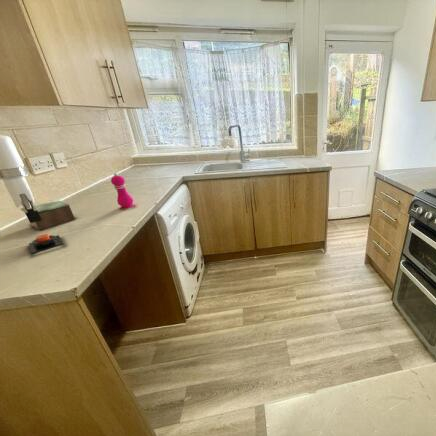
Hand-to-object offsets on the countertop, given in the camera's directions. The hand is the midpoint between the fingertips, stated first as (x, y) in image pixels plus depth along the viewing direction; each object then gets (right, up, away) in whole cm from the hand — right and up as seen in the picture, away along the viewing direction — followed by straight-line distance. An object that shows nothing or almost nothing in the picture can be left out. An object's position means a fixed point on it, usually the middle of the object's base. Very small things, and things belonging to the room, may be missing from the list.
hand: (35, 221), depth 92 cm
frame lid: (-20, +6, +23) cm, 31 cm away
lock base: (+1, -11, +4) cm, 11 cm away
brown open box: (-20, -1, +27) cm, 33 cm away
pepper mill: (+6, +6, +42) cm, 43 cm away
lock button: (+1, -7, +3) cm, 8 cm away
